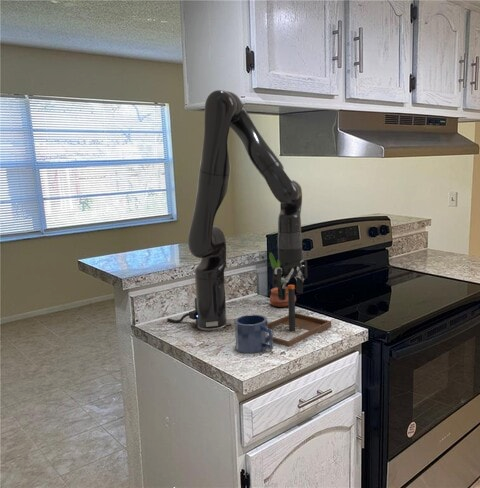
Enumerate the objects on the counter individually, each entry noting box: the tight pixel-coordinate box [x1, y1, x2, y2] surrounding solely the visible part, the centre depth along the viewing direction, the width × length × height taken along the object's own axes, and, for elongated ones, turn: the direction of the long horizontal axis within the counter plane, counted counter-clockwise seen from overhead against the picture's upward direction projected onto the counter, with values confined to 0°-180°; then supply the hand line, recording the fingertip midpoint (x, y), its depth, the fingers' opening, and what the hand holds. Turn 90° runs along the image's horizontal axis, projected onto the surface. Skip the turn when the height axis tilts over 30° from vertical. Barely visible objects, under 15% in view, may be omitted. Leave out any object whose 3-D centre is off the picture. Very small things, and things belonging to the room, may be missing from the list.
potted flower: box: [268, 252, 297, 308], centre depth 183 cm, size 12×10×25 cm
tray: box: [267, 312, 332, 348], centre depth 157 cm, size 16×22×2 cm
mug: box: [234, 313, 274, 355], centre depth 142 cm, size 13×9×9 cm
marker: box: [287, 284, 296, 333], centre depth 155 cm, size 2×2×15 cm
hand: (291, 296), depth 154 cm, fingers open, 8 cm apart
